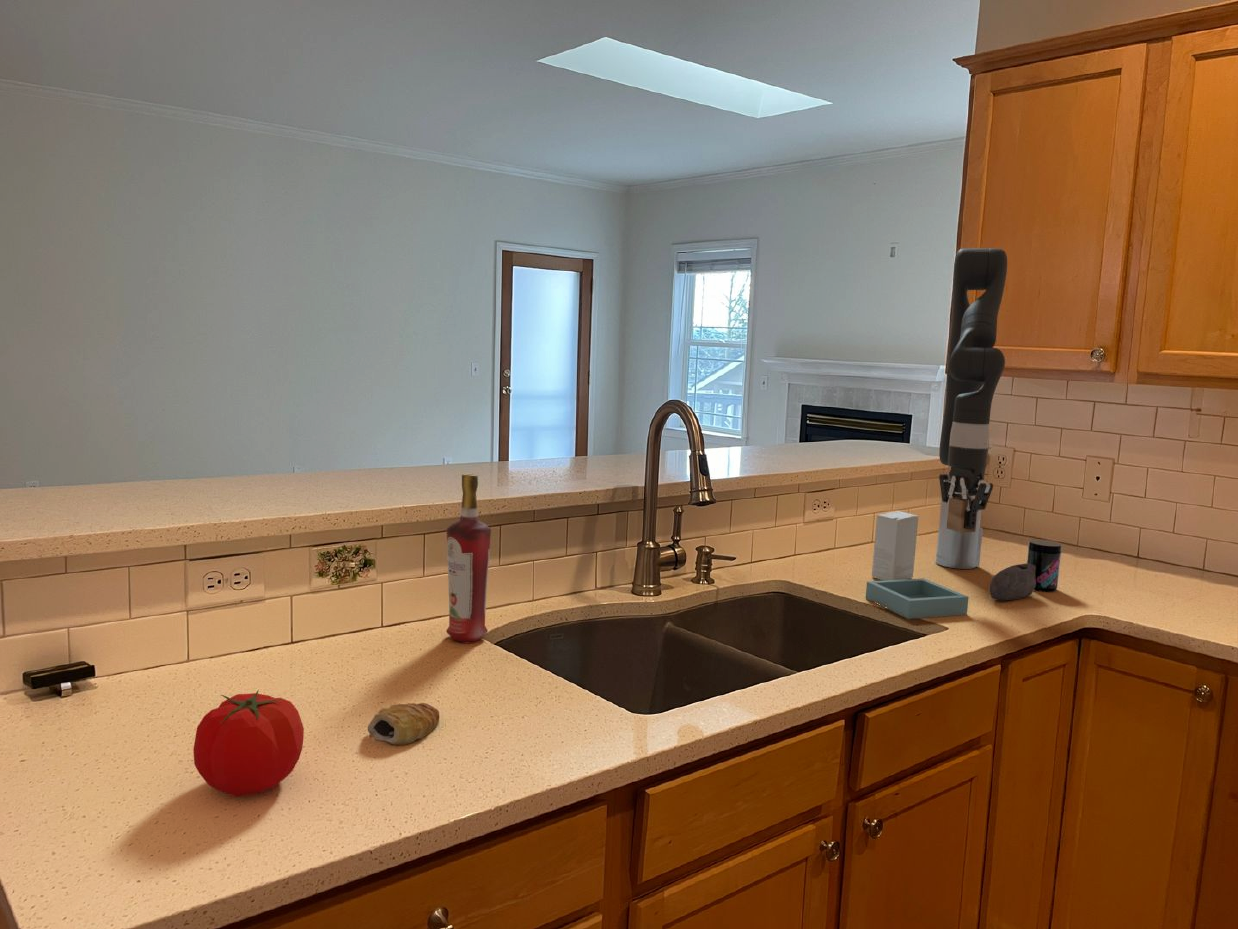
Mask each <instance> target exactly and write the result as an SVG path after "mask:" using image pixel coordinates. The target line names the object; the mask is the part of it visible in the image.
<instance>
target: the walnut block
mask: <svg viewBox="0 0 1238 929" xmlns="http://www.w3.org/2000/svg"><path fill="white" fill-rule="evenodd" d="M965 503H966V501H964V500H963V498H949V507H948V518H947V529H950V530H954V531H957V532H975V530H976V525H975V527H974V529H965V528H964V518H965V511H966V509H965ZM972 504H973V501H972V500H971V505H972ZM976 519H977V514H976Z"/></svg>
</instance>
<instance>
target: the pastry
mask: <svg viewBox="0 0 1238 929" xmlns="http://www.w3.org/2000/svg"><path fill="white" fill-rule="evenodd" d="M439 722H440V711H439V710H438V708H436V707H434V706H432V705H430V704H428V703H425V702H420V703H416V702H412V703H409V702H408V703H404V704H403V703H397V704H391V705H390V706H389V707H386V708H382V709H380V710H379V711H378V712H377V713H376V714H375V715H374V717H373V718H372V719H371V720H370V723H369V724H368V725H367V732H368V734H369V736H370V737H371V736H372V737H371V738H374V740H375V741H380V742H384V743H389V744H390V745H395V746H399V745H400V746H401V745H403V746H404V744H405V745H408V744H411V743H414V742H416V740H417V739H418V740H421V739H422V738H425V737H424V736H426V735H427V736H428V735H429V734H430V733H431V732H432V731H434V729H436V728H437V727H438V725H439Z"/></svg>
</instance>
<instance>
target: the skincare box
mask: <svg viewBox="0 0 1238 929" xmlns="http://www.w3.org/2000/svg"><path fill="white" fill-rule="evenodd" d="M919 518H920V516H919V515H916V514H913V513H909V512H905V511H900V510H895V511H891V512H890V511H889V512H886V513H881V514H877V515H876V524H875V535H874V537H875V538H874V545H873V556H872V567H871V568H872V569H871V577H872V578H873V579H876V578H877V579H876V580H879V581H885V580H902V579H914V567H915V558H916V549H917V536H918V525H919Z"/></svg>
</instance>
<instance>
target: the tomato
mask: <svg viewBox="0 0 1238 929" xmlns="http://www.w3.org/2000/svg"><path fill="white" fill-rule="evenodd" d="M220 696H221V697H223V698H225V700H223V701H222V702H221V703H220V704H219V706H218V707H216V708H214V709H210V711H209V712H207V713H206V714H204V715H203V717H202V719H201V720H200V722H199V724H198V725H197V727H196V732H195V738H194V744H193V753H192V754H193V762H194V763H193V764H194V765H193V766H195V768H196V770H197V772H198V774H199V775H200V776H201V777H202V779H203V780H204V781H205V782H206V783H207V785H208V786H210V787H211V788H212V789H214V790H216V791H218V792H221V793H224V794H226V795H230V796H233V797H235V798H238V797H244V796H250V795H252V796H253V795H256V794H257V795H258V794H262V793H263V792H265V791H267V790H270V789H271V788H275V787H276V786H277V785H279V784H280V783H281V782H282V781H283V780H285V779H286V778H287V777H288V776H289V775H290V774H291V773H292V772H293V771H294V769H295V768H296V765H297V763H299V762H298V761H299V760H300V757H301V753H302V751H303V744H304V734H305V732H304V731H305V727H304V724H303V721H302V718H301V716H300V713H299V710H298V709H297V708H296V707H295V705H294V704H293V702H292V701H290V700H287V699H286V698H284V697H283V698H282V697H273V696H271V695H269V694H268V695H267V694H262V693H259V690H256V692H255V693H238V694H234V695H233V696H230V697H228V696H226V695H225V694H220Z"/></svg>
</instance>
